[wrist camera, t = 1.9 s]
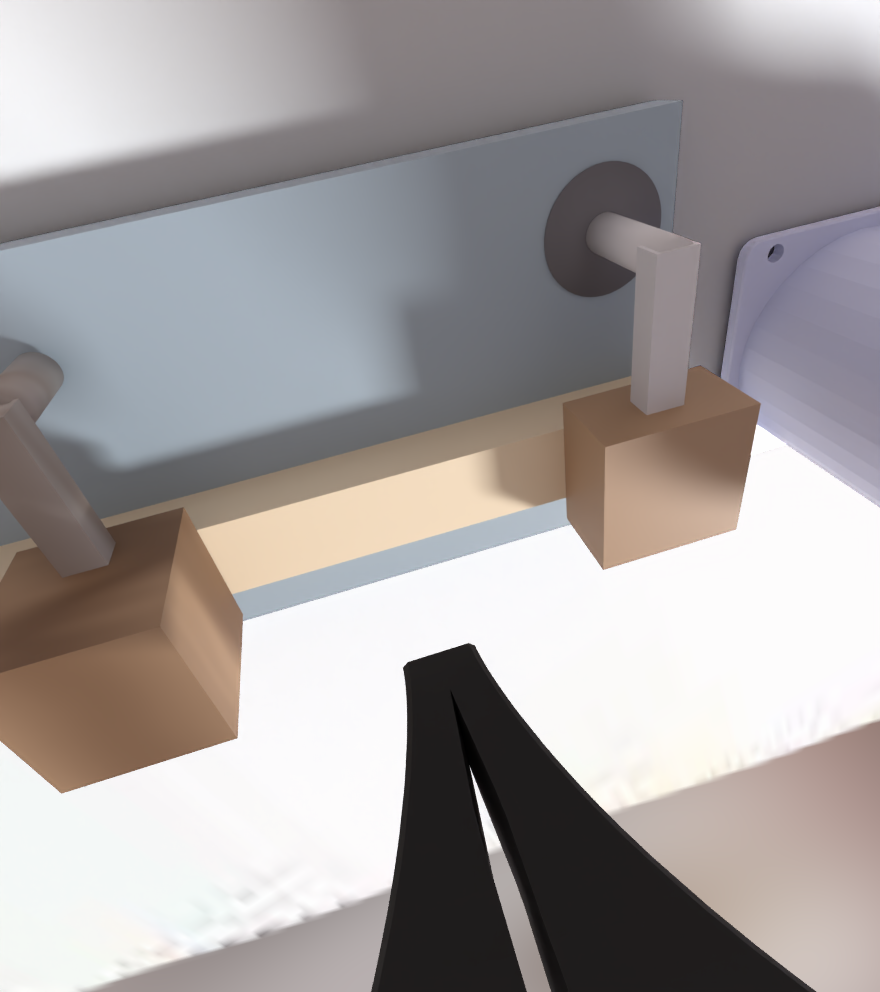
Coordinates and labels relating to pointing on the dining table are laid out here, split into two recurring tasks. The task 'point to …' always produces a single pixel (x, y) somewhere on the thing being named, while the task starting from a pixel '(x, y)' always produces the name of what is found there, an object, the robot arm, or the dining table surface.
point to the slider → (103, 618)
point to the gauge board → (393, 361)
